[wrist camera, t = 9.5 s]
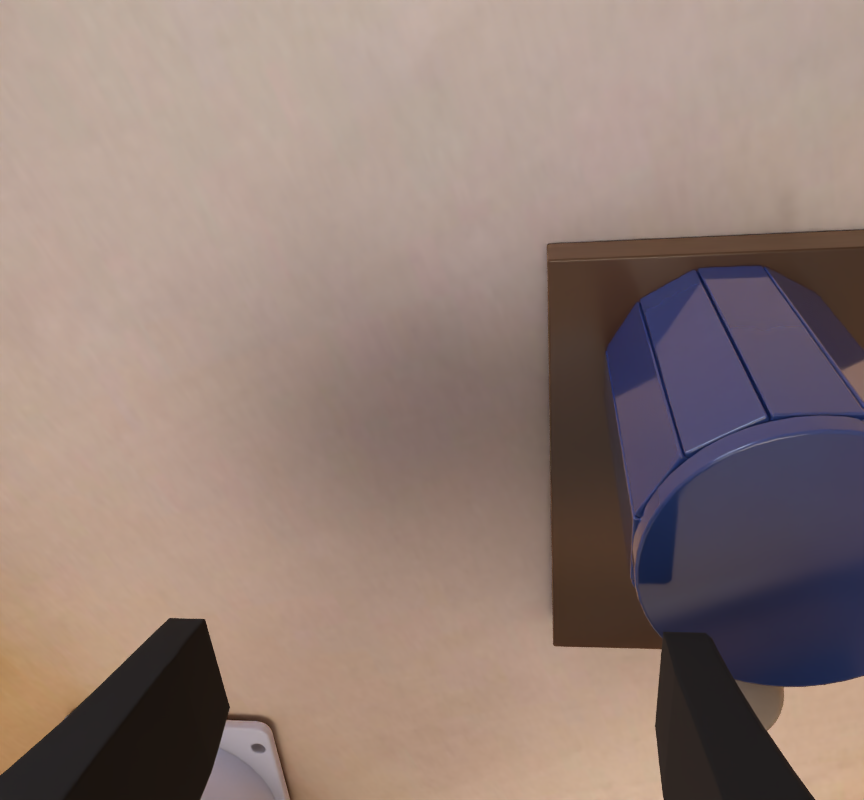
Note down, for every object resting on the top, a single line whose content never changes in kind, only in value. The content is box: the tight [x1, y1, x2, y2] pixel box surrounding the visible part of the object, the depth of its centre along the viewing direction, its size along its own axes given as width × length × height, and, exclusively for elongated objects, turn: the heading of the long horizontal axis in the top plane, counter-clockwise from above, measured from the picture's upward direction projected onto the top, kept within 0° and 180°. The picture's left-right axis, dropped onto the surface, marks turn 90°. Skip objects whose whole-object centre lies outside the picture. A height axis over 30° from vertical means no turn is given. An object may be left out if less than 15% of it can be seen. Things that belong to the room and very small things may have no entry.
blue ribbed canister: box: [604, 266, 864, 687], centre depth 16 cm, size 5×5×7 cm
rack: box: [547, 230, 864, 731], centre depth 19 cm, size 12×8×6 cm, turn 5°
